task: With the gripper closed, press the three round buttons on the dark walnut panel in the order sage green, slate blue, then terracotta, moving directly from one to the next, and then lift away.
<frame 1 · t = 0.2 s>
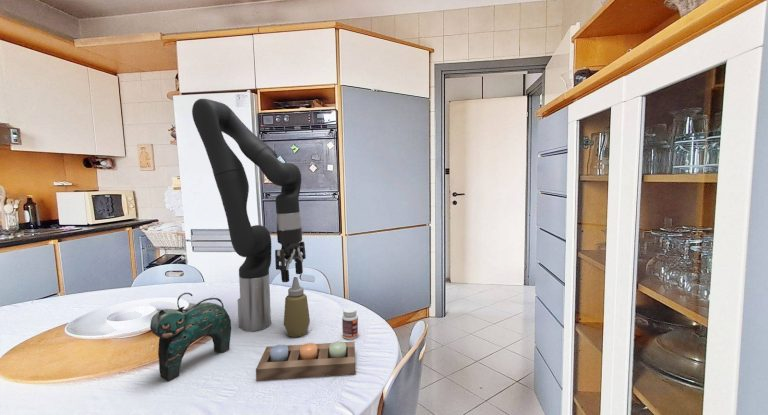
hand: (292, 277, 108), 17 cm above the table, tool pointing down, fingers open, 8 cm apart
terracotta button: (308, 352, 89), point 3 cm above the table, slide at 0.0 cm
slate blue button: (279, 354, 88), point 3 cm above the table, slide at 0.0 cm
ceramic cat: (195, 364, 91), on the table
sage green button: (337, 350, 90), point 3 cm above the table, slide at 0.0 cm
pill bottle: (350, 336, 105), on the table
walnut button panel: (309, 365, 89), on the table
squeeze bottle: (297, 333, 108), on the table
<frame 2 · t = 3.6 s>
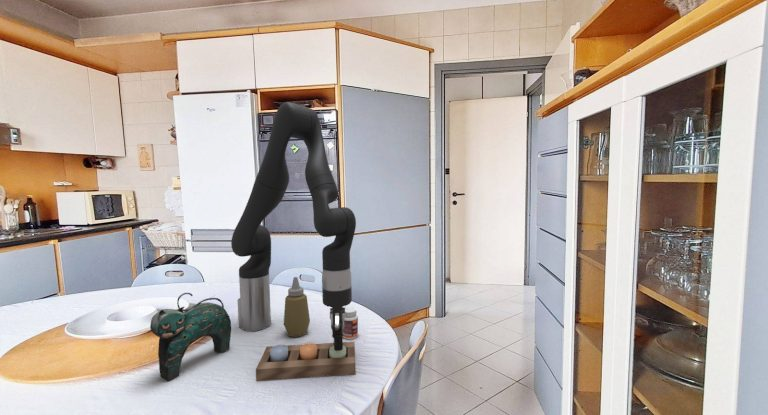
hand: (338, 348, 90), 4 cm above the table, tool pointing down, fingers closed
sage green button: (337, 354, 90), point 3 cm above the table, slide at 1.0 cm, touching gripper
everything else where it was.
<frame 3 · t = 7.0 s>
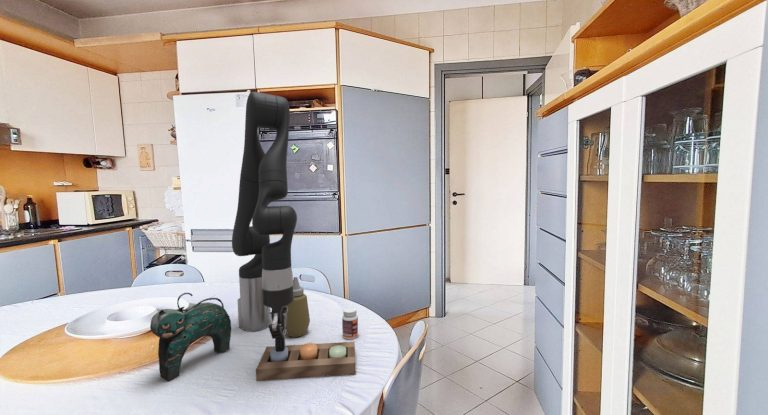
hand: (280, 350, 88), 5 cm above the table, tool pointing down, fingers closed
slate blue button: (279, 355, 88), point 3 cm above the table, slide at 0.3 cm, touching gripper
sage green button: (337, 355, 90), point 2 cm above the table, slide at 1.1 cm
everything else where it was.
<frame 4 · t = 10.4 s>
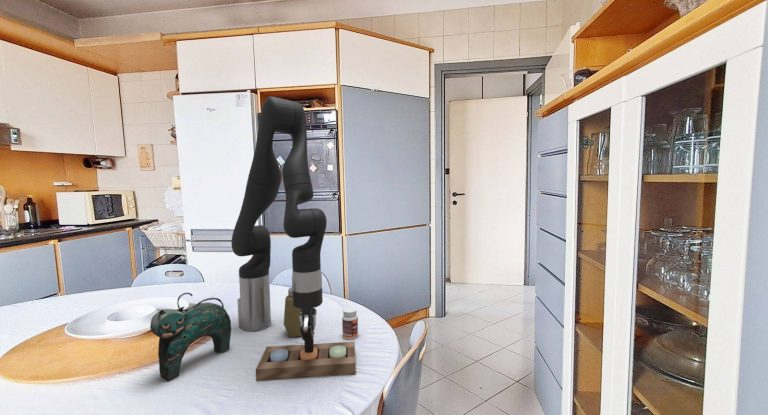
hand: (309, 351, 89), 4 cm above the table, tool pointing down, fingers closed
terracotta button: (308, 356, 89), point 2 cm above the table, slide at 1.1 cm, touching gripper
slate blue button: (279, 358, 88), point 2 cm above the table, slide at 1.2 cm
everything else where it was.
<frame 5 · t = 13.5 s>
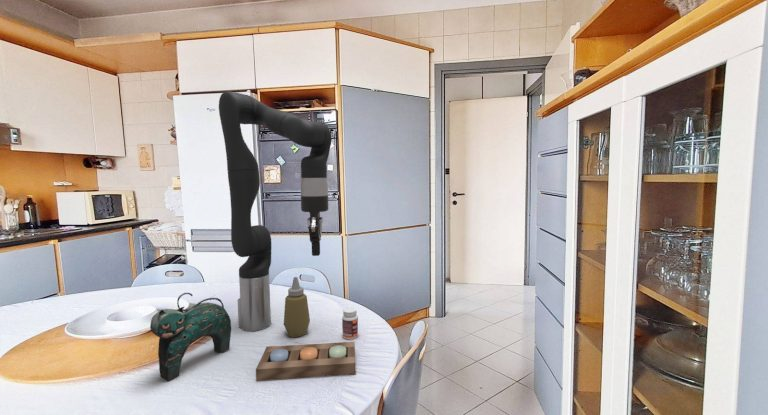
hand: (316, 255, 97), 27 cm above the table, tool pointing down, fingers closed
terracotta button: (308, 356, 89), point 2 cm above the table, slide at 1.2 cm
everything else where it was.
at the end: sage green button slide at 1.1 cm; slate blue button slide at 1.2 cm; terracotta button slide at 1.2 cm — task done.
